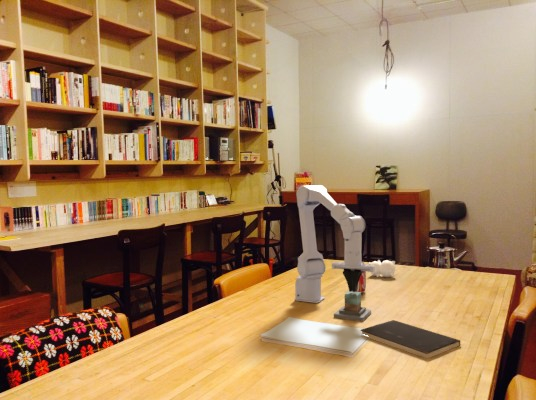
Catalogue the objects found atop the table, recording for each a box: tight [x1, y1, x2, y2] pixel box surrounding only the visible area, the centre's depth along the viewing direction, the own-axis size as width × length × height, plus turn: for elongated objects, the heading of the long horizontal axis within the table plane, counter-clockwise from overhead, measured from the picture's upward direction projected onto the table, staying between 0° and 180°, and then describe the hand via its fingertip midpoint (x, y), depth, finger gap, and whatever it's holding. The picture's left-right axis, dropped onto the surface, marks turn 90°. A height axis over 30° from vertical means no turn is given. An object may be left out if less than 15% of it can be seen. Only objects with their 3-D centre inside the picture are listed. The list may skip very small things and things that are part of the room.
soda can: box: [352, 261, 367, 294], centre depth 195 cm, size 7×7×12 cm
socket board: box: [333, 305, 372, 322], centre depth 163 cm, size 10×10×2 cm
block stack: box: [344, 290, 362, 312], centre depth 163 cm, size 4×4×6 cm
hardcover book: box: [360, 319, 461, 359], centre depth 139 cm, size 16×23×2 cm
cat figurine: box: [367, 259, 396, 278], centre depth 224 cm, size 9×11×12 cm
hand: (352, 291), depth 163 cm, fingers closed
